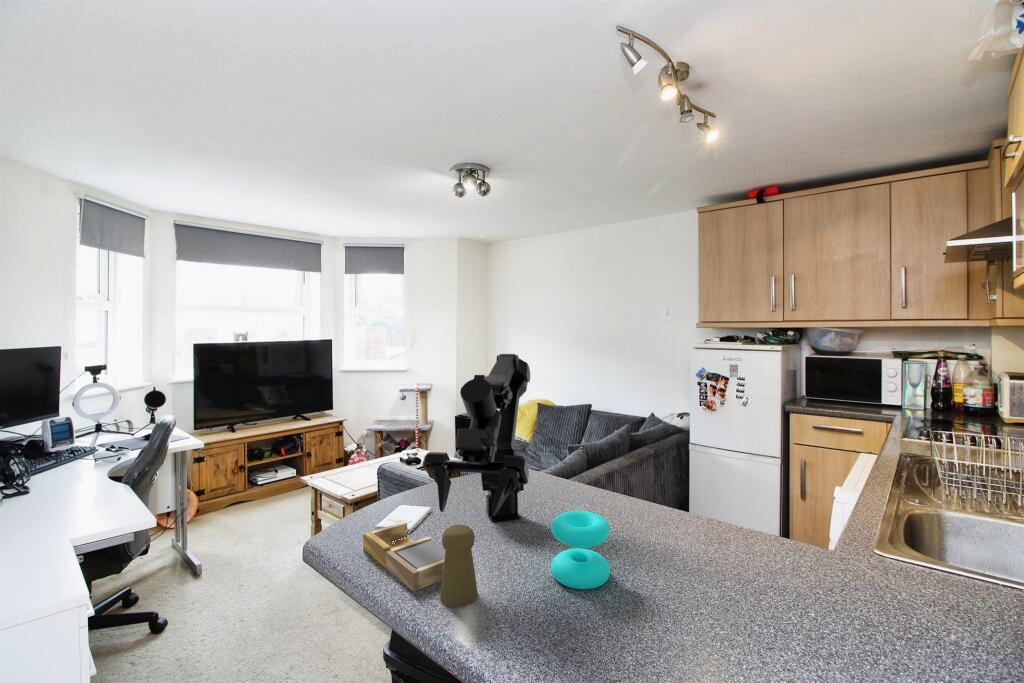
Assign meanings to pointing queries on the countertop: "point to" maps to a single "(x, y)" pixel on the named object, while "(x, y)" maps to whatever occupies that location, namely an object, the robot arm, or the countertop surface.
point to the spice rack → (406, 555)
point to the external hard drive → (405, 516)
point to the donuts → (580, 549)
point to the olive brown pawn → (458, 567)
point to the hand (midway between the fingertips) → (467, 512)
